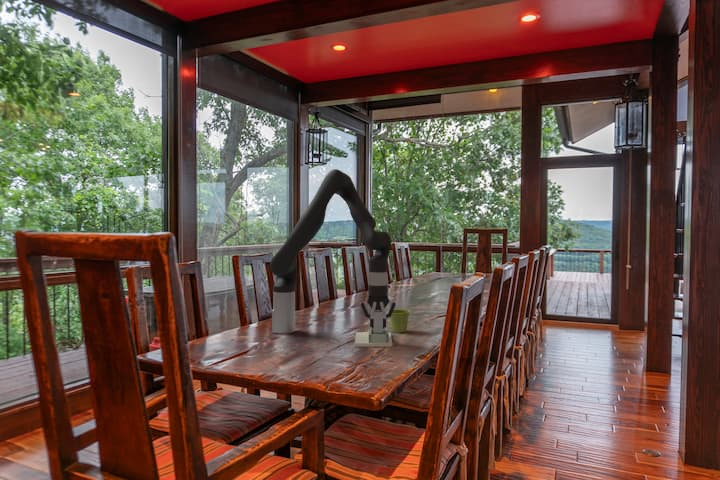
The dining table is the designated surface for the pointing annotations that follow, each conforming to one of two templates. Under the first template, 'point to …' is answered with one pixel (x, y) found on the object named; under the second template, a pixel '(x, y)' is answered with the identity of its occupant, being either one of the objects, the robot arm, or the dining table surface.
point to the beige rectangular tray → (373, 339)
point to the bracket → (378, 322)
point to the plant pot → (399, 320)
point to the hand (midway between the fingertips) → (378, 328)
